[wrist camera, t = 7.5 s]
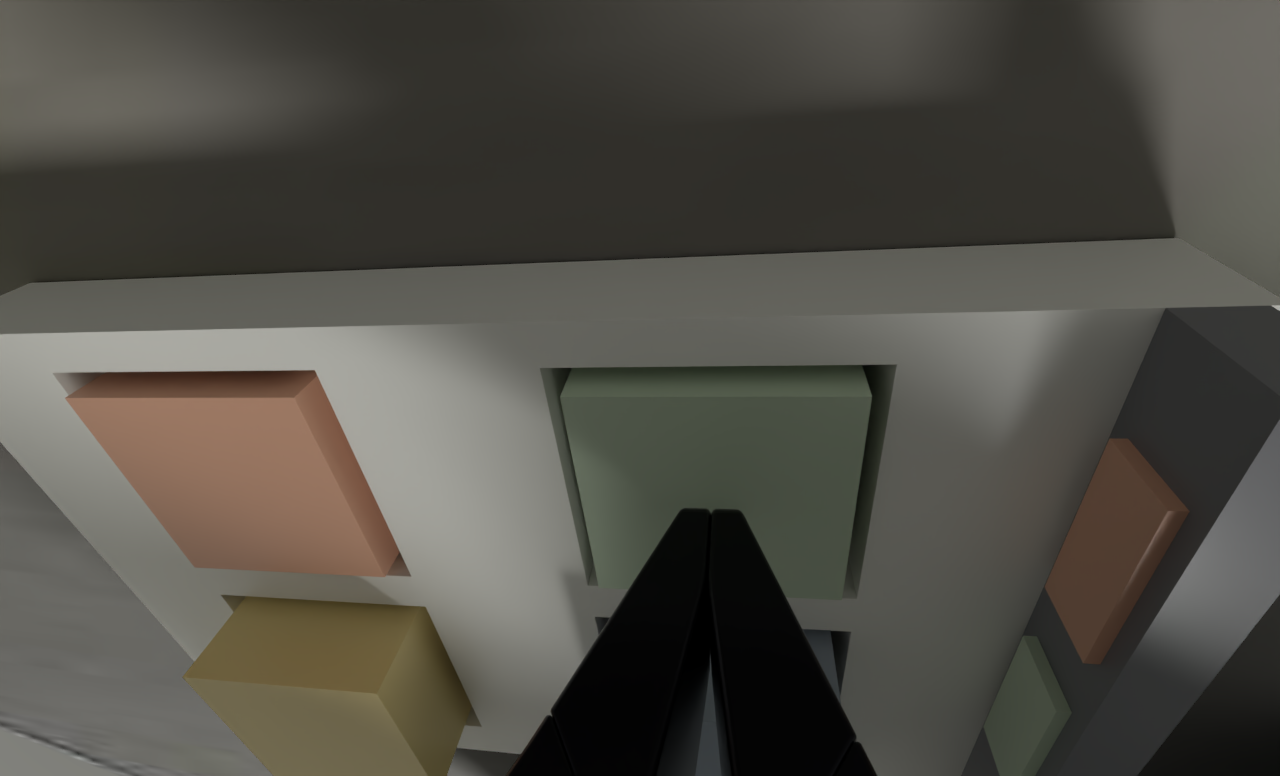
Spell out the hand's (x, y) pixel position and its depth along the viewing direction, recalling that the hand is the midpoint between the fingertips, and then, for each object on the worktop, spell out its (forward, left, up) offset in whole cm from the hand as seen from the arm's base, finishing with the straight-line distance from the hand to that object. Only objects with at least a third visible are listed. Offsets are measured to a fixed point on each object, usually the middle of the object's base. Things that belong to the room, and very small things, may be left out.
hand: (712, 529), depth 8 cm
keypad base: (-4, 0, -3) cm, 5 cm away
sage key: (0, 0, -3) cm, 3 cm away
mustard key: (-10, +1, -1) cm, 10 cm away
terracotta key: (-6, +5, -2) cm, 8 cm away
